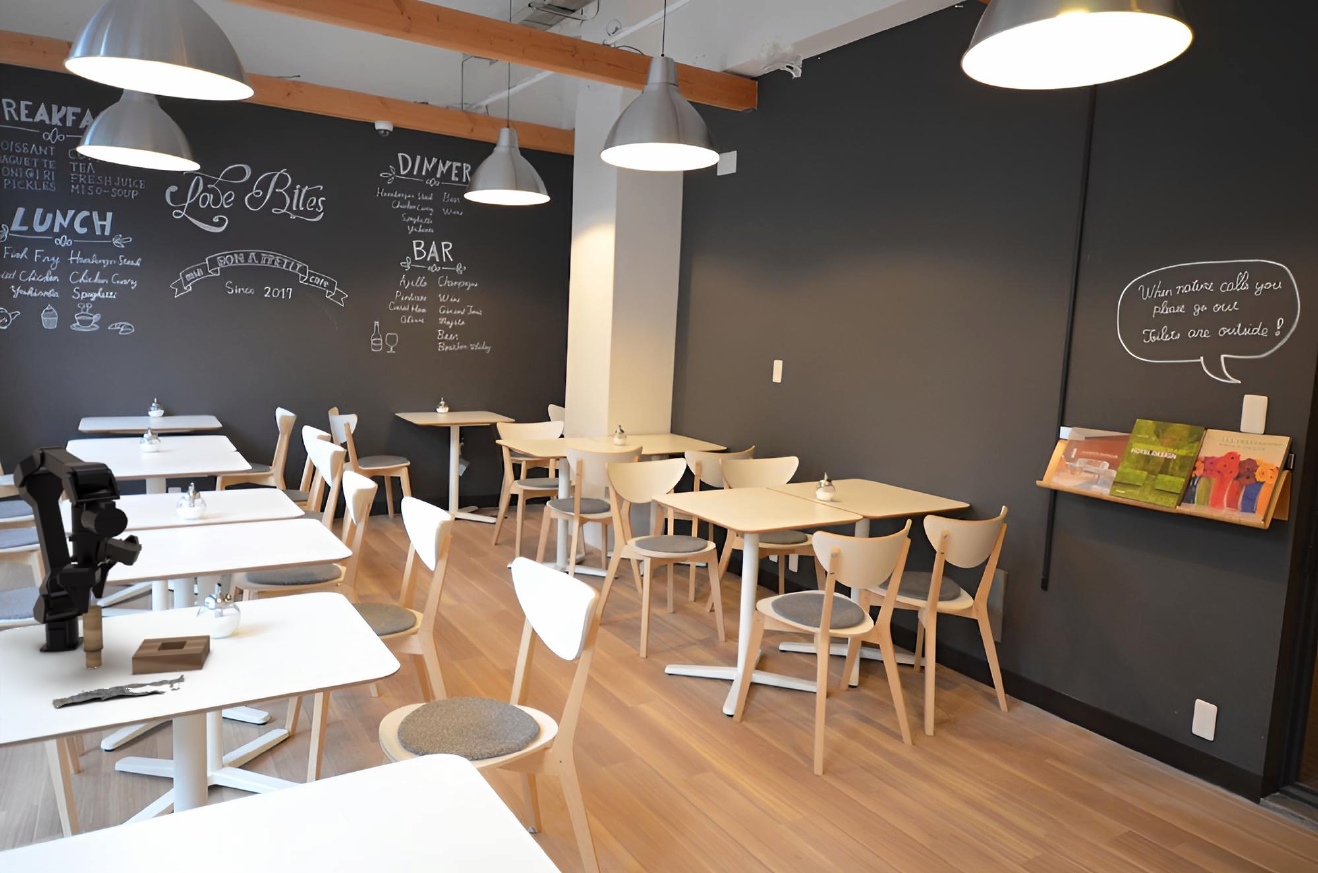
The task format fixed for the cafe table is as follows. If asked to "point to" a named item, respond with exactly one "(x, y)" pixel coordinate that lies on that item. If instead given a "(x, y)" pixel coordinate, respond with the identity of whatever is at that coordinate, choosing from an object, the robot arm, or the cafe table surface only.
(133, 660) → the board
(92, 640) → the peg
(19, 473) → the robot arm
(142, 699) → the cafe table surface
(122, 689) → the driftwood
